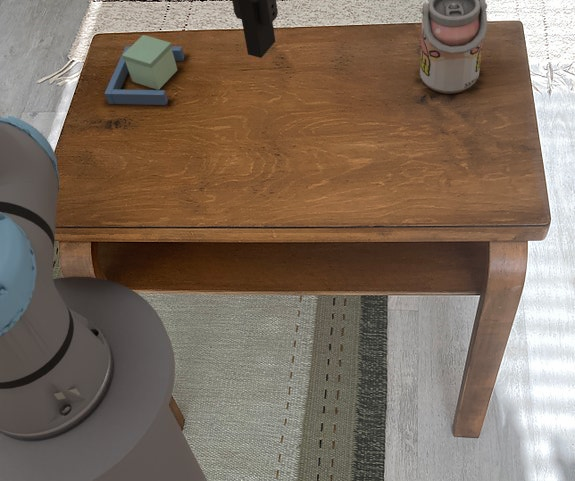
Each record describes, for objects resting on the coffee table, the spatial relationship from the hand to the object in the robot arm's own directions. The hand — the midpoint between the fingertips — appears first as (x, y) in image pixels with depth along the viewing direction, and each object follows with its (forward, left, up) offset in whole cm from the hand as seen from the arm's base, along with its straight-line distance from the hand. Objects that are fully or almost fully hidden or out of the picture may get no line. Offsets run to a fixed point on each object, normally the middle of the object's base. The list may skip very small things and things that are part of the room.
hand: (261, 47), depth 72 cm
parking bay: (-25, +27, -26) cm, 45 cm away
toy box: (-25, +27, -26) cm, 46 cm away
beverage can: (+18, +28, -27) cm, 42 cm away
